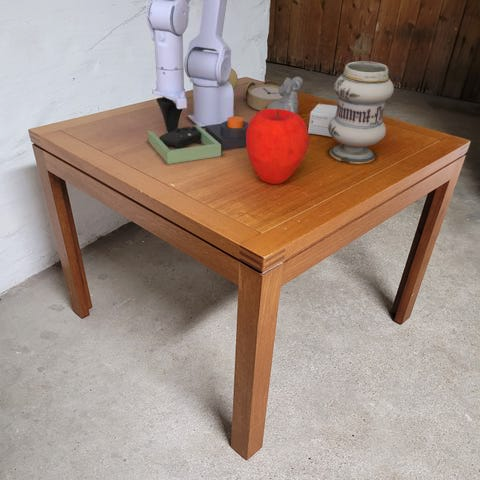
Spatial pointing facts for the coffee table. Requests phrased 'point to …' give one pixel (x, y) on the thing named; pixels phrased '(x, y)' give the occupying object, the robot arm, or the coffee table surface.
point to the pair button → (235, 122)
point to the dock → (190, 153)
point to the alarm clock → (261, 94)
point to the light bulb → (233, 79)
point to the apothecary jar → (360, 111)
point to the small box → (321, 119)
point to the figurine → (288, 95)
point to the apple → (276, 144)
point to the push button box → (228, 135)
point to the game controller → (181, 137)
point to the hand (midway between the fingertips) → (172, 132)
